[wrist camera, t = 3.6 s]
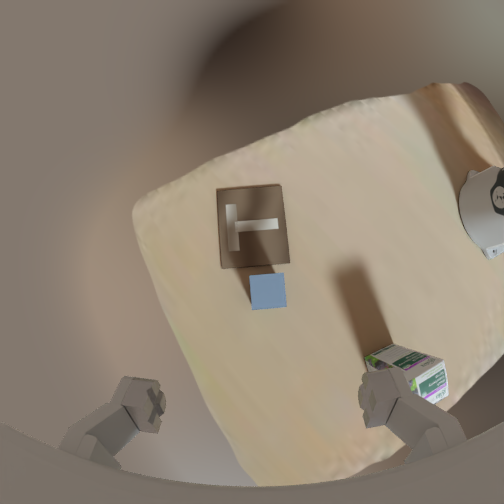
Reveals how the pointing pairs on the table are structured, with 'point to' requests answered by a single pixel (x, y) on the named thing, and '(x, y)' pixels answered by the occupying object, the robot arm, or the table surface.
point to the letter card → (252, 227)
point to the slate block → (267, 291)
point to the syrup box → (413, 370)
